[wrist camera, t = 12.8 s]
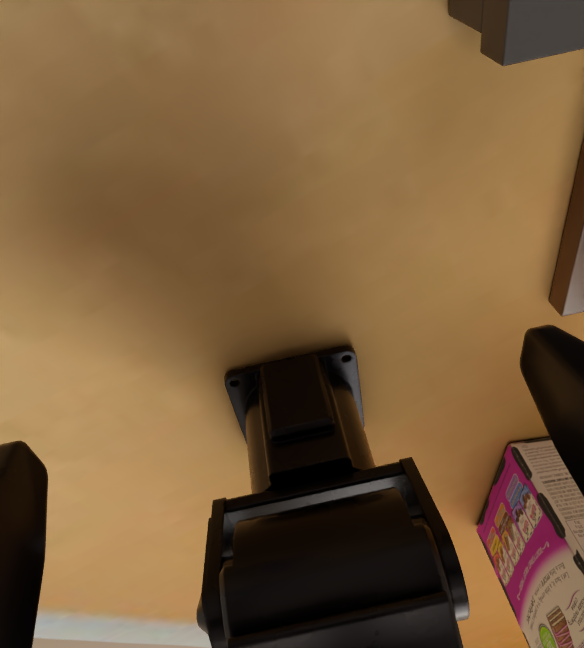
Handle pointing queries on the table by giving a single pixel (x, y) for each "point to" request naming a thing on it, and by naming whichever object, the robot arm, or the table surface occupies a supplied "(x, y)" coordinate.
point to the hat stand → (571, 254)
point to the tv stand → (523, 27)
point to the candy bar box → (538, 543)
